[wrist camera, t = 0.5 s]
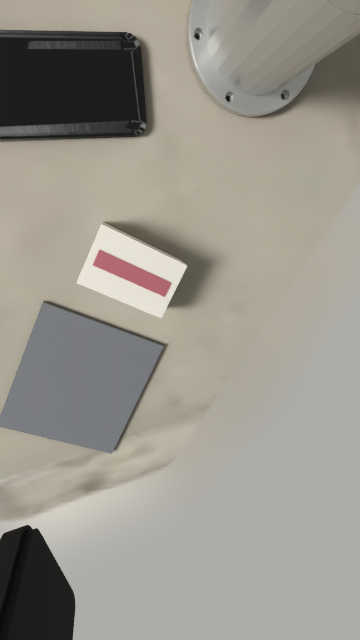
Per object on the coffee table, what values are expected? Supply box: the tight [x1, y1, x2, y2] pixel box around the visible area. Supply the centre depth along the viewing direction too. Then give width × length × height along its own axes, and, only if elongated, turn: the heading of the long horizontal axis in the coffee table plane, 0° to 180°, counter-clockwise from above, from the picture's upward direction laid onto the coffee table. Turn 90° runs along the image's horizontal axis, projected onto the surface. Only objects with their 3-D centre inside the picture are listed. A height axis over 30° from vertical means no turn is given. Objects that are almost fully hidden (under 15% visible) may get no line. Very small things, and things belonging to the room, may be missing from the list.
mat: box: [0, 301, 164, 454], centre depth 39 cm, size 16×14×1 cm
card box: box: [77, 222, 187, 318], centre depth 34 cm, size 6×9×4 cm, turn 63°
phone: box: [0, 30, 147, 141], centre depth 29 cm, size 8×1×15 cm
